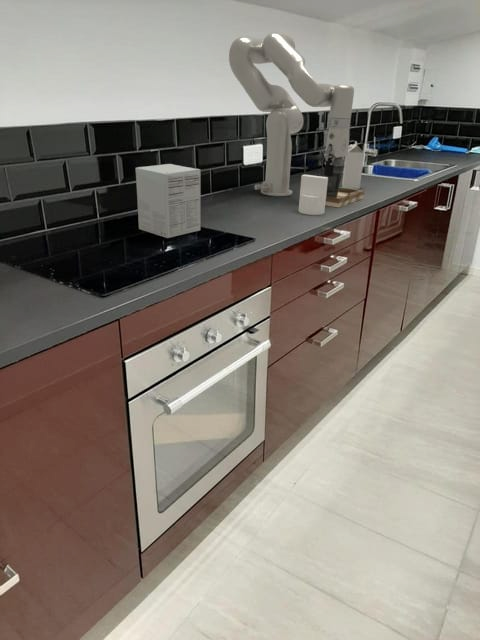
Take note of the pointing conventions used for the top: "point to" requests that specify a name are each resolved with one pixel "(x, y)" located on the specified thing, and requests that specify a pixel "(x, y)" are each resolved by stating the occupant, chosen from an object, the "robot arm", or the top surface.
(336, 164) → the beverage cup
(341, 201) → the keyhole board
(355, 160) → the milk carton
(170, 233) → the supplement box
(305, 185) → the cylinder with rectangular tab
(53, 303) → the top surface
